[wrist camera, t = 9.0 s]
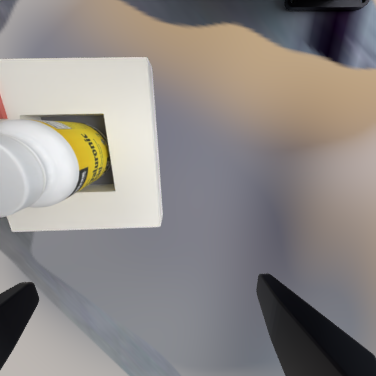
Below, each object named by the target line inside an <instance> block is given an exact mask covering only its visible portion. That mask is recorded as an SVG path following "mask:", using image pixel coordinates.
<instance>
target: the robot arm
mask: <svg viewBox="0 0 376 376" xmlns="http://www.w3.org/2000/svg"><path fill="white" fill-rule="evenodd" d="M368 2H369V0H362V3H361V1H360V0H294V3H291V0H285V8H286V9H287V10H359V9H361V8H363V7H364V6H366V5H367V4H368ZM257 296H258V300H259V303H260V306H261V310H262V313H263V316H264V319H265V322H266V326H267V329H268V332H269V335H270V338H271V341H272V344H273V346H274V348H275V351H276V354H277V356H278V358H279V361H280V363H281V366H282V368H283V371H284V373H285V375H286V376H376V358H375V356H374V355H373V354H372V353H371V352H369V351H368V350H367V349H366V348H364V347H363V346H362V345H361V344H359V343H358V342H357V341H356V340H354V339H353V338H352V337H350V336H349V335H348V334H346V333H345V332H344V331H343V330H341V329H340V328H339V327H337V326H336V325H335V324H334V323H332V322H331V321H330V320H328V319H327V318H326V317H325V316H323V315H322V314H321V313H319V312H318V311H317V310H316V309H314V308H313V307H312V306H310V305H309V304H308V303H307V302H305V301H304V300H303V299H301V298H300V297H299V296H298V295H296V294H295V293H294V292H292V291H291V290H290V289H289V288H287V287H286V286H285V285H283V284H282V283H281V282H280V281H278V280H277V279H276V278H274V277H273V276H272V275H270V274H259V276H258V282H257ZM38 302H39V296H38V293H37V290H36V287H35V285H34V283H32V282H22V283H19V284H17V285H15V286H14V287H12V288H10V289H9V290H6V291H5V292H3V293H1V294H0V370H1V368H2V367H3V365H4V363H5V362H6V360H7V359H8V357H9V355H10V354H11V352H12V350H13V349H14V347H15V345H16V344H17V342H18V340H19V338H20V336H21V334H22V333H23V331H24V329H25V327H26V325H27V323H28V321H29V319H30V318H31V316H32V314H33V312H34V310H35V308H36V307H37V305H38Z"/></svg>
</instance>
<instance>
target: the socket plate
mask: <svg viewBox="0 0 376 376" xmlns="http://www.w3.org/2000/svg"><path fill="white" fill-rule="evenodd" d="M18 119H27V120H44V121H63V122H78V123H84V124H88V125H91V126H93V127H95V128H96V129H98V130H99V131H100V132H101V133H103V135H104V136H105V137H106V138H107V140H108V146H109V152H110V159H111V166H110V168H109V169H108V171H107V172H106V173H105V174H104V175H103V176H102V177H100V178H99V179H97V180H96V181H94V182H92V183H91V184H89V185H88V186H86V187H84V188H83V189H81V190H79V191H78V192H76V193H75V194H73V195H71V196H70V197H68V198H67V199H65V200H63V201H61V202H59V203H57V204H54V205H52V206H48V207H40V208H37V207H35V208H33V207H27V208H24V209H22V210H20V211H18V212H16V213H14V214H12V215H9V216H7V219H8V222H9V224H10V227H11V230H12V232H26V231H54V230H83V229H110V228H139V227H160V225H161V221H162V216H163V211H162V197H161V184H160V169H159V155H158V141H157V129H156V113H155V98H154V85H153V70H152V66H151V64H150V62H149V60H148V58H147V57H124V58H123V57H119V58H117V57H115V58H114V57H113V58H41V59H39V58H38V59H37V58H36V59H0V122H3V121H7V120H18Z"/></svg>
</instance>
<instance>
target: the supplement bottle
mask: <svg viewBox="0 0 376 376" xmlns="http://www.w3.org/2000/svg"><path fill="white" fill-rule="evenodd" d="M110 166H111V159H110V152H109V146H108V140H107V138H106V137H105V136H104V135H103V133H101V132H100V131H99V130H98V129H96V128H95V127H93V126H91V125H88V124H84V123H78V122H63V121H44V120H27V119H18V120H7V121H3V122H0V217H6V216H9V215H12V214H14V213H16V212H18V211H20V210H22V209H24V208H27V207H33V208H35V207H37V208H40V207H48V206H52V205H54V204H57V203H59V202H61V201H63V200H65V199H67V198H68V197H70V196H71V195H73V194H75V193H76V192H78V191H79V190H81V189H83V188H84V187H86V186H88V185H89V184H91V183H92V182H94V181H96V180H97V179H99V178H100V177H102V176H103V175H104V174H105V173H106V172H107V171H108V169H109V168H110Z"/></svg>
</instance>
